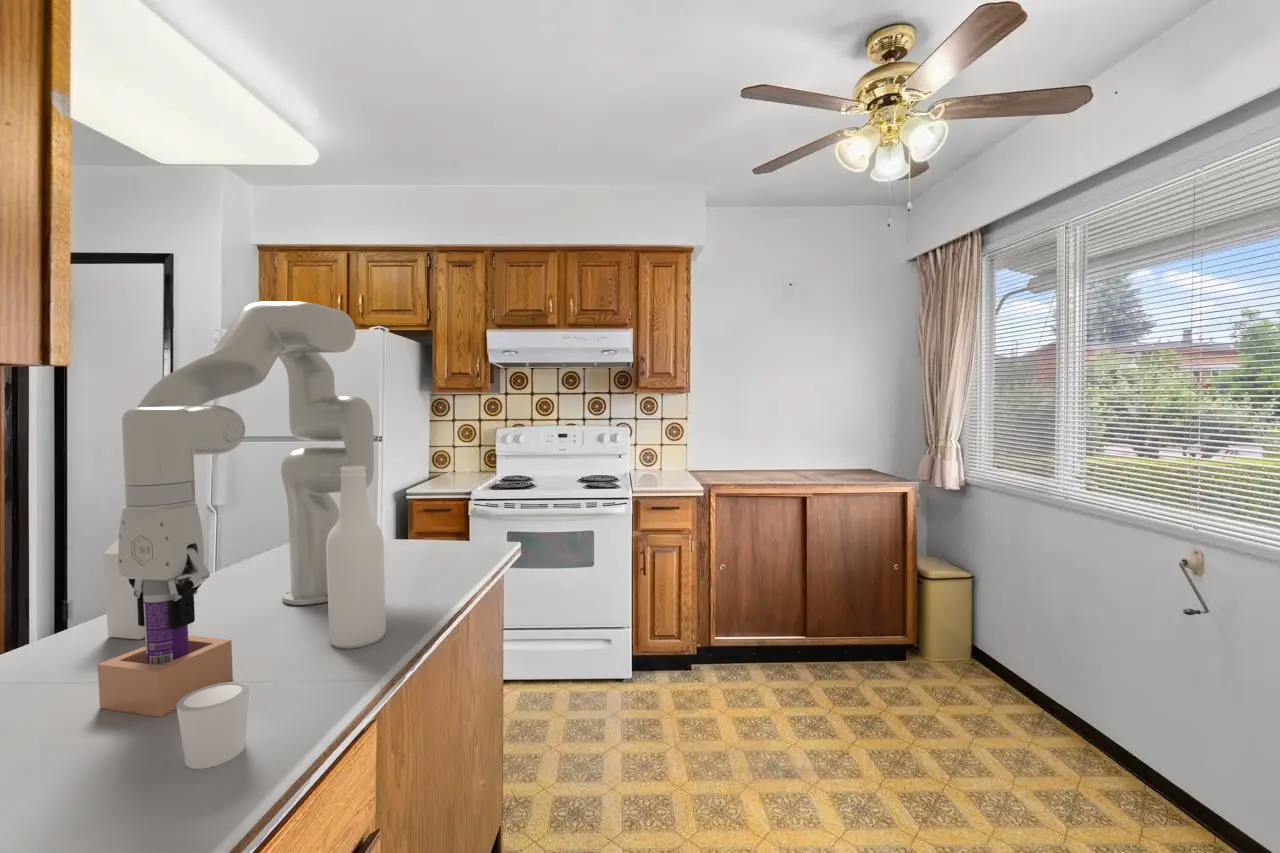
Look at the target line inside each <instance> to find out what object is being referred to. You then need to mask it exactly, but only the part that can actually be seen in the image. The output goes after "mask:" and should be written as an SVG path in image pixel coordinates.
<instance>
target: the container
mask: <svg viewBox="0 0 1280 853" xmlns="http://www.w3.org/2000/svg"><path fill="white" fill-rule="evenodd" d="M183 574H184V572H182V574H181V575H183ZM178 582H179V586H180V587H181V586H182V585H183V583H184V582H185V581H184V579H182V580H179V581H178ZM170 600H172V598H171V593H170V589H169V585H168V581H151V580H143V604H144V625H145V638H144V639H145V643H144V644H145V646H146V664H151V665H160V666H161V665H164V664H166V663H168V662H171V661H173V660H175V659H178V658H180V657H182V656H185V655H187V654H189V643H188V636H189V624H188V625H185V626H182V627H180V628H177V629H170V628H169V618H168V601H170Z"/></svg>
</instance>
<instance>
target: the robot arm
mask: <svg viewBox="0 0 1280 853" xmlns="http://www.w3.org/2000/svg"><path fill="white" fill-rule="evenodd" d="M356 333H357V332H356V327H355V324H354V321H353V319H352V317H351V316H350V315H349V314H348V313H346V312H345V311H343V310H341V309H337V308H333V307H329V306H326V305H322V304H317V303H313V302H306V301H259V302H253V303H250V304H248V305H246V306H245V307H243V308H242V309H241V310H240V311H239V313H238V314H237V316H236V317H235V318H234V320H233V322H232V323H231V324H230V325H229V327H228V328H227V330H226V331H225V333H224V334H223V336H222V337H221V338H220V339H219V341H218V343H217V344H216V345H215V346H214V348H213V349H212V351H211V352H209V353H208V354H205V355H204V356H201V357H199V358H197V359H195V360H193V361H192V362H190V363H188V364H186V365H184V366H181V367H180V368H178V369H177V370H174V371H173V372H171V373H170V374H169V373H168V374H167V375H166V376H165V377H163V378H162V379H160V380H159V381H158V382H157V383H155V384H154V385H153V386H152V387H151V388H150V390H148V392H147V393H146V394H145V395H144V397H143V399H142V400H140V402H139V403H138V405H137V406H136V407H133V408H129V409H127V410H126V411H125V412H124V413H123V415H122V417H121V426H122V428H121V431H122V433H121V434H122V449H123V450H122V452H123V470H124V475H123V476H124V495H125V506H123V509H122V511H121V512H122V513H121V517H120V522H119V529H118V530H119V532H118V538H119V545H118V566H119V573H120V574H121V575H122V576H123V577H125V578H127V579H128V580H129V583H130V584H131V586H132V587H133V588H134V592H133V594H134V596H135V597H136V598H137V607H138V625H139V626H145V625H144V604H143V580H151V581H168V585H169V589H170V593H171V598H172V600H170V601H168V618H169V628H170V629H177V628H180V627H182V626H185V625H188V626H189V625H190V624H193V623H194V622H195V620H196V619H195V618H196V617H195V616H196V615H195V613H196V612H195V595H197V594H198V589H199V588H200V587H201V585H202V584H203V583H204V582H205V581H206V580H207V579H208V578H209V577H210V575H211V574H210V571H209V570H208V568H207V567H206V565H205V545H204V544H205V543H204V535H203V528H202V522H201V517H200V512H199V509H198V504H197V503H196V501H197V500H196V499H197V498H196V482H195V481H196V480H195V460H194V458H195V457H194V456H197V455H198V456H199V455H201V456H202V455H203V456H204V455H205V456H208V455H209V456H210V455H212V456H213V455H222V454H227V453H228V452H231V451H233V450H235V449H236V448H237V447H238V446H240V444H241V443H242V441H243V439H244V437H245V434H246V433H245V432H246V425H245V421H244V419H243V418H242V417H241V415H239V413H238V412H236V410H234V409H231V408H229V407H226V406H223V405H213V404H206V403H209V402H211V401H213V400H214V401H215V400H217V399H220V398H223V397H227V396H232V395H234V394H239V393H241V392H244V391H247V390H249V389H252V388H254V387H257V386H259V385H260V384H261V383H262V382H264V381H265V379H266V378H267V376H268V374H269V373H270V371H271V369H272V367H273V366H274V364H275V362H276V360H277V358H279V360H280V361H281V363H282V365H283V366H284V368H285V371H286V374H287V379H288V380H287V381H288V382H287V383H288V416H289V417H288V418H289V421H288V422H289V428H290V432H291V434H292V436H293V437H294V438H296V439H298V440H300V441H308V442H343V443H344V447H328V446H327V447H326V446H325V447H302V448H298V449H295V450H292V451H290V452H289V453H288V454H287V455H285V457H284V458H283V460H282V462H281V466H280V473H281V479H282V483H283V487H284V491H285V495H286V501H287V502H286V503H287V513H288V538H289V542H288V543H289V564H290V565H289V566H290V589H289V590H286V591H285V592H284V593H282V602H284V603H285V604H287V605H293V606H308V605H317V604H323V603H327V602H328V582H327V550H326V543H327V539H328V534H329V532H330V531H331V529H332V528H333V527H334V526H335V524H336V523H337V521H338V518H339V512H340V508H339V507H338V504H337V503H336V501H335V500H334V499H333V497H332V496H331V494H330V493H341V477H340V475H341V471H340V469H341V468H342V467H345V466H365V467H366V470H365V473H366V477H365V478H366V487H367V489H369V487H370V486H371V484H372V482H373V478H374V472H375V471H374V470H375V452H374V450H375V446H374V445H375V444H374V443H375V441H374V440H375V439H374V417H373V412H372V408H371V407H370V405H369V403H368V401H367V400H365V399H363V397H360V396H354V395H336V392H335V391H336V390H335V389H336V388H335V387H336V386H335V374H334V371H333V368H332V366H331V365H330V363H328V361H327V360H326V359H325V358H324V357H323V355H321V353H326V354H327V353H344V352H345V353H346V352H347V351H349V350H350V349H351V348H352V347H353V345H354V343H355V340H356ZM205 404H206V405H205ZM182 572H184V574H183V575H181V574H182ZM182 579H184V581H185V582H184V583H183V585H182V586H181V587H180V586H179V582H178V581H179V580H182ZM138 597H139V598H138Z"/></svg>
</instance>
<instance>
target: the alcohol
mask: <svg viewBox="0 0 1280 853" xmlns="http://www.w3.org/2000/svg"><path fill="white" fill-rule="evenodd" d="M365 470H366V467H365V466H345V467H342V468H341V469H340V471H341V475H340V477H341V492H340V497H339V498H340V499H339V518H338V521H337V523H336V524H335V526H334V527H333V528H332V529H331V531H330V532H329V534H328V539H327V543H326V550H327V582H328V603H327V609H328V636H329V637H328V638H329V642H330V643H331V645H333V646H334V647H335V648H338V649H341V650H346V649H347V650H352V649H358V648H359V649H360V648H364V647H369V646H371V645H373V644H375V643H377V642H379V641H380V640H382V638H383V637H384V635H385V634H386V632H387V624H386V623H387V622H386V621H387V620H386V618H387V617H386V592H385V590H386V589H385V588H386V585H385V583H386V582H385V553H384V551H385V550H384V548H385V547H384V535H383V531H382V529H381V527H380V526H379V525H378V524H377V522H376V521H375V520H373V518H372V515H371V513H370V504H369V499H368V498H369V497H368V488H367V487H366V478H365V477H366V473H365Z"/></svg>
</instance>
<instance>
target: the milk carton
mask: <svg viewBox="0 0 1280 853" xmlns="http://www.w3.org/2000/svg"><path fill="white" fill-rule="evenodd" d="M118 545H119V537H118V538H117V539H116V540H115V541H114V542H113V543H112V544H111V546H109V548H107V550H106V551H105V552H103V560H104V578H105V581H104V582H105V583H104V584H105V598H106V599H105V600H106V601H105V602H106V620H107V621H106V623H107V624H106V625H107V637H108V638H120V639H128V640H129V639H130V640H142V639H145V626H139V625H138V607H137V598H136V597H135V596H134V594H133V592H134V588H133V587H132V586H131V584H130V583H129V580H128V579H127V578H125V577H123V576H122V575H121V574H120V573H119V566H118ZM138 598H139V597H138Z"/></svg>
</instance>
